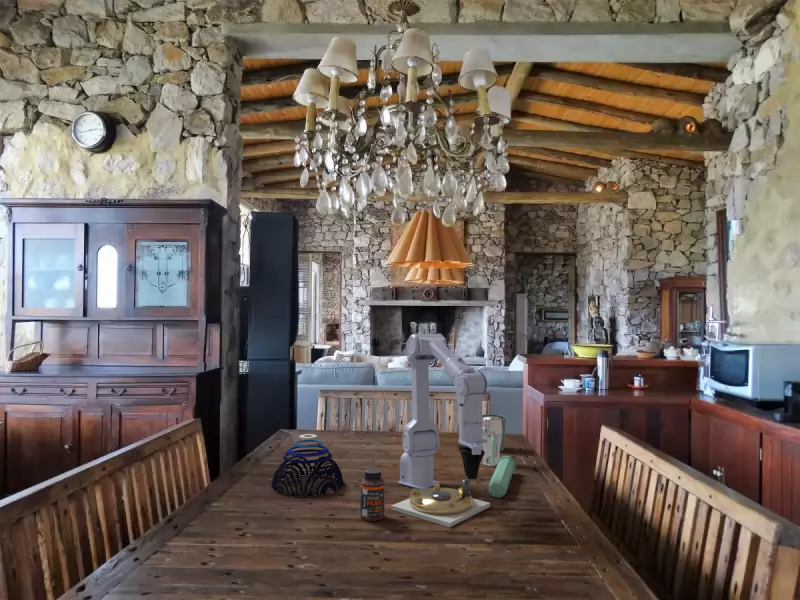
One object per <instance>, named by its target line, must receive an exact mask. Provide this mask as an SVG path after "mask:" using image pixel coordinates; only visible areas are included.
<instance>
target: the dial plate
mask: <svg viewBox="0 0 800 600" xmlns="http://www.w3.org/2000/svg"><path fill="white" fill-rule="evenodd" d="M490 507H491V502H488V501H484V500H481V499H476V498H473V506H472V508H471V509H469V510H468V511H465V512H462V513H458V514H451V515H437V514H429V513H424V512H421V511H418V510H416V509H414V508H412V507H411V505H410V497H408V498H407V499H405V500H402V501H400V502H397V503H394V504H391V511H395V512H398V513H402V514H405V515H408V516H411V517H415V518H417V519H422V520H425V521H427V522H431V523H434V524H438V525H441V526H443V527H444V526H445V527H447V528H452V527H454V526H455V525H457V524H459V523H461V522H463V521H465V520H467V519H469V518H471V517H472V516H474V515H476V514H479V513H482V511H485V510H486V509H489V508H490Z"/></svg>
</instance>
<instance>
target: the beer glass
mask: <svg viewBox="0 0 800 600" xmlns="http://www.w3.org/2000/svg"><path fill="white" fill-rule="evenodd" d="M483 438H485V439H487V443H483V451H484V452H485V454H484V456H483V458H482V460H481V462H482V465H485V466H487V467H488V466H489V467H497V465H498V460H499V459H500V458H501V457H500V455H501V454H500V445H501V439H502V422H501V418H499V417H491V416H488V417H483Z"/></svg>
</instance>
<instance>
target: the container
mask: <svg viewBox="0 0 800 600" xmlns="http://www.w3.org/2000/svg"><path fill="white" fill-rule="evenodd" d="M516 465H517V464H516V461H515V460H514V459H513V457H511V456H509V455H508V456H507V455H502V456H501V457H500V459H499V460H498V465H497V466H495V467H496V468H495V470H494V473H493V474H492V476H491V479H490V481H489V482H488V492H489V494H490V495H491V496H492V497H494V498H503V497H504V496H505V495H506V494H507V491H508V488H509V485H510V483H511V479H512V476H513V473H514V472H515V471H516V467H517V466H516Z"/></svg>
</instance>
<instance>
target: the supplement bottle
mask: <svg viewBox="0 0 800 600" xmlns="http://www.w3.org/2000/svg"><path fill="white" fill-rule="evenodd" d="M385 486H386V481H385V480H384V478H382V470H381V469H380V468H379V469H378V468H367V469H365V470H364V477H363V478H362V479H361V481H360V489H359V490H360V492H359V493H360V495H359V497H360V498H359V500H360V501H359V504H360V505H359V508H360V509H359V513H360V514H359V516H360V518H361V519H362V520H364V521H368V522H377V521H380V520H382V519H383V518H384V517H385V503H386V502H385V501H386V499H385V497H386V495H385V491H386V490H385V489H386V487H385Z"/></svg>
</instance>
